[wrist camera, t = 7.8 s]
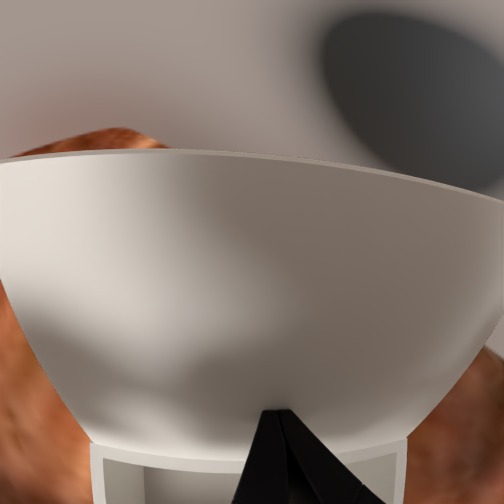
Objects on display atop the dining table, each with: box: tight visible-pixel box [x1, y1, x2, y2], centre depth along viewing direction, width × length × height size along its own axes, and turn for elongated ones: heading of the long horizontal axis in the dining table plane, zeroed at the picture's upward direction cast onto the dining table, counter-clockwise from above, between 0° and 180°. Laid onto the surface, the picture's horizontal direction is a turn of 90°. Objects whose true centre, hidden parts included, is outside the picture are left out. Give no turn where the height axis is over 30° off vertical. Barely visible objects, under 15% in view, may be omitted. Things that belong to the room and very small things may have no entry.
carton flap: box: [0, 149, 504, 461], centre depth 7 cm, size 11×14×1 cm
